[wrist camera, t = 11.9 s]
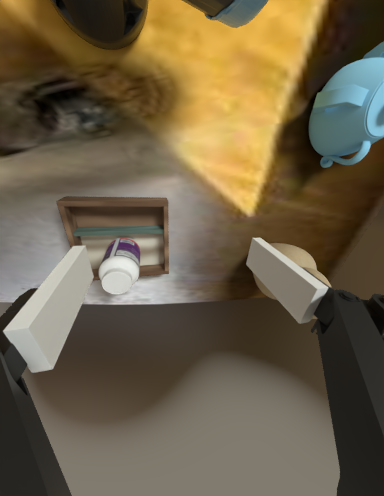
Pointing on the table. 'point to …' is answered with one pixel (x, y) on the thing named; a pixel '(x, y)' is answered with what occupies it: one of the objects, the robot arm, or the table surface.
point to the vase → (297, 257)
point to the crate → (119, 228)
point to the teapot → (350, 111)
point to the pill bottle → (120, 265)
